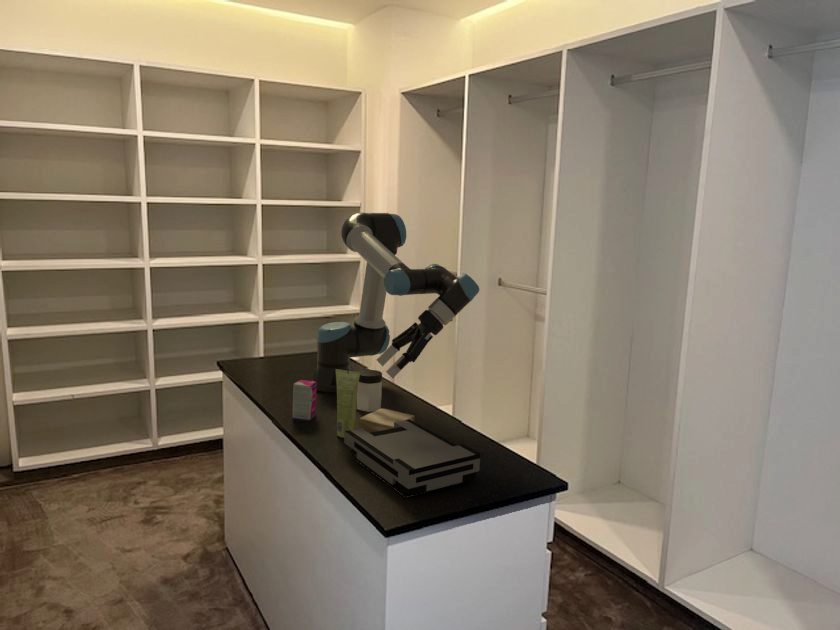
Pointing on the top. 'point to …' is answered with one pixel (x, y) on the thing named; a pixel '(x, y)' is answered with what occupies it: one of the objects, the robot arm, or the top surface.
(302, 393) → the supplement box
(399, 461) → the game console
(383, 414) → the oak block
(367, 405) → the jar
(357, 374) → the tube
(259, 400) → the top surface
